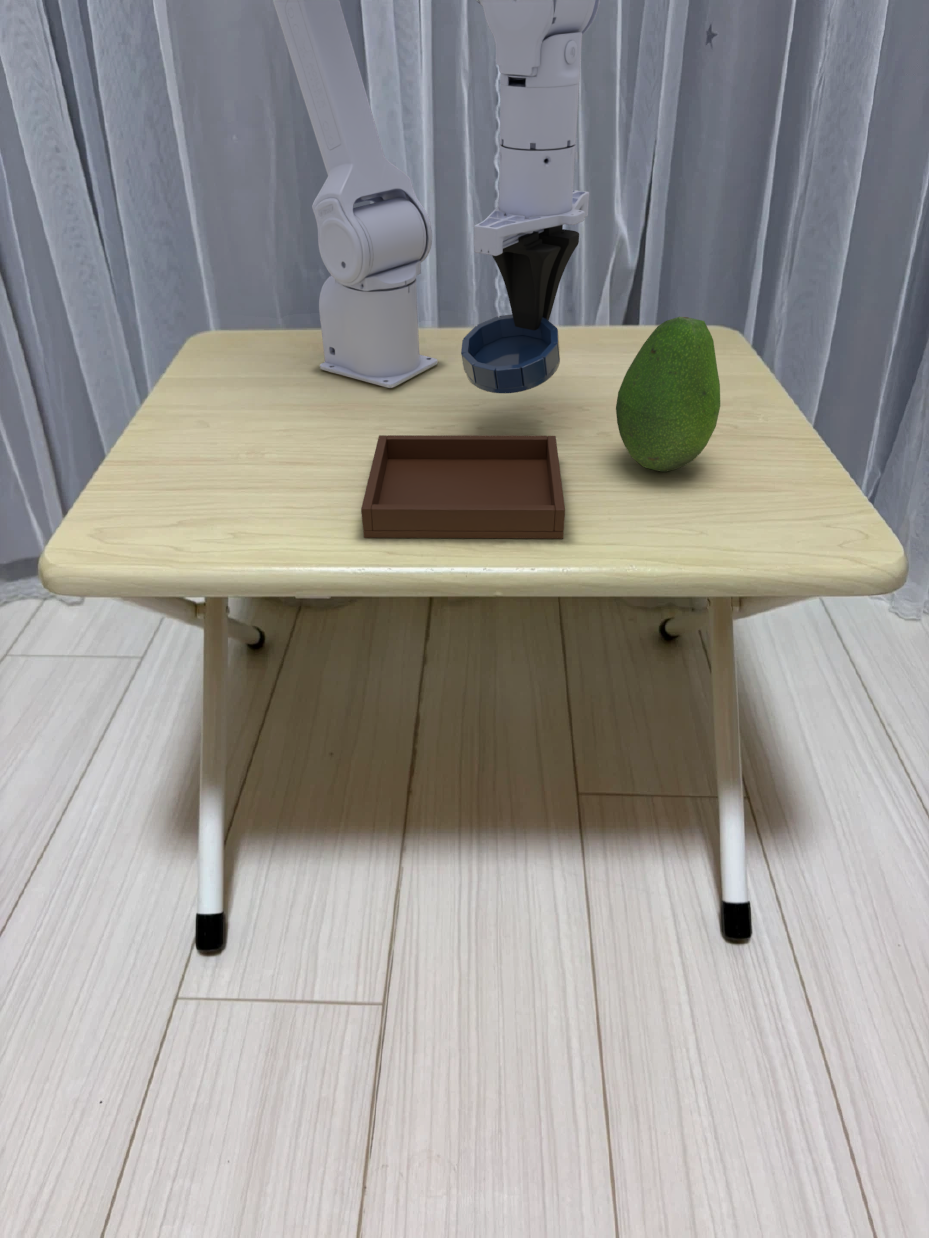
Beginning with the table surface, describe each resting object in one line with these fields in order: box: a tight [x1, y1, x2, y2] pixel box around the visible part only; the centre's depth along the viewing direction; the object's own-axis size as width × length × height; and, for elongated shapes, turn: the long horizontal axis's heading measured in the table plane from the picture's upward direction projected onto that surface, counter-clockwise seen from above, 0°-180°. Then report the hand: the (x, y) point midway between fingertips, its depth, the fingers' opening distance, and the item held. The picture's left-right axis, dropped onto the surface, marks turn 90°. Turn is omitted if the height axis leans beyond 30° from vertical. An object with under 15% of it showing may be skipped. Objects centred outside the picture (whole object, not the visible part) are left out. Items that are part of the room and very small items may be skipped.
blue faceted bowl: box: [460, 314, 561, 394], centre depth 72 cm, size 8×8×2 cm
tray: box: [360, 434, 566, 540], centre depth 66 cm, size 14×12×2 cm
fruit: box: [615, 316, 721, 473], centre depth 67 cm, size 8×8×12 cm
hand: (531, 325), depth 73 cm, fingers closed on blue faceted bowl, 1 cm apart
